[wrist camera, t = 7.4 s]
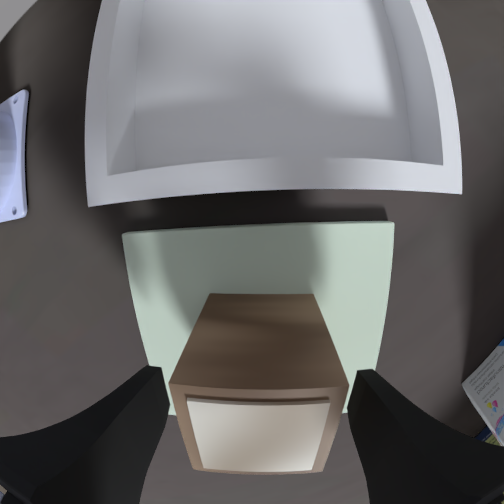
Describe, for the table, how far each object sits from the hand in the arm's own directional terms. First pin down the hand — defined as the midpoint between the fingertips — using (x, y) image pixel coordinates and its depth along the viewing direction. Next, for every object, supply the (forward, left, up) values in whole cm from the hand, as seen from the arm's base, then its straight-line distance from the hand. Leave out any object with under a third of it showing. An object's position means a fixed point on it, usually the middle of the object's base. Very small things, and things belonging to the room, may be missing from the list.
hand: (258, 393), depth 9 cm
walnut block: (0, 0, -4) cm, 4 cm away
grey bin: (+1, +14, -4) cm, 15 cm away
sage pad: (0, 0, -4) cm, 4 cm away
